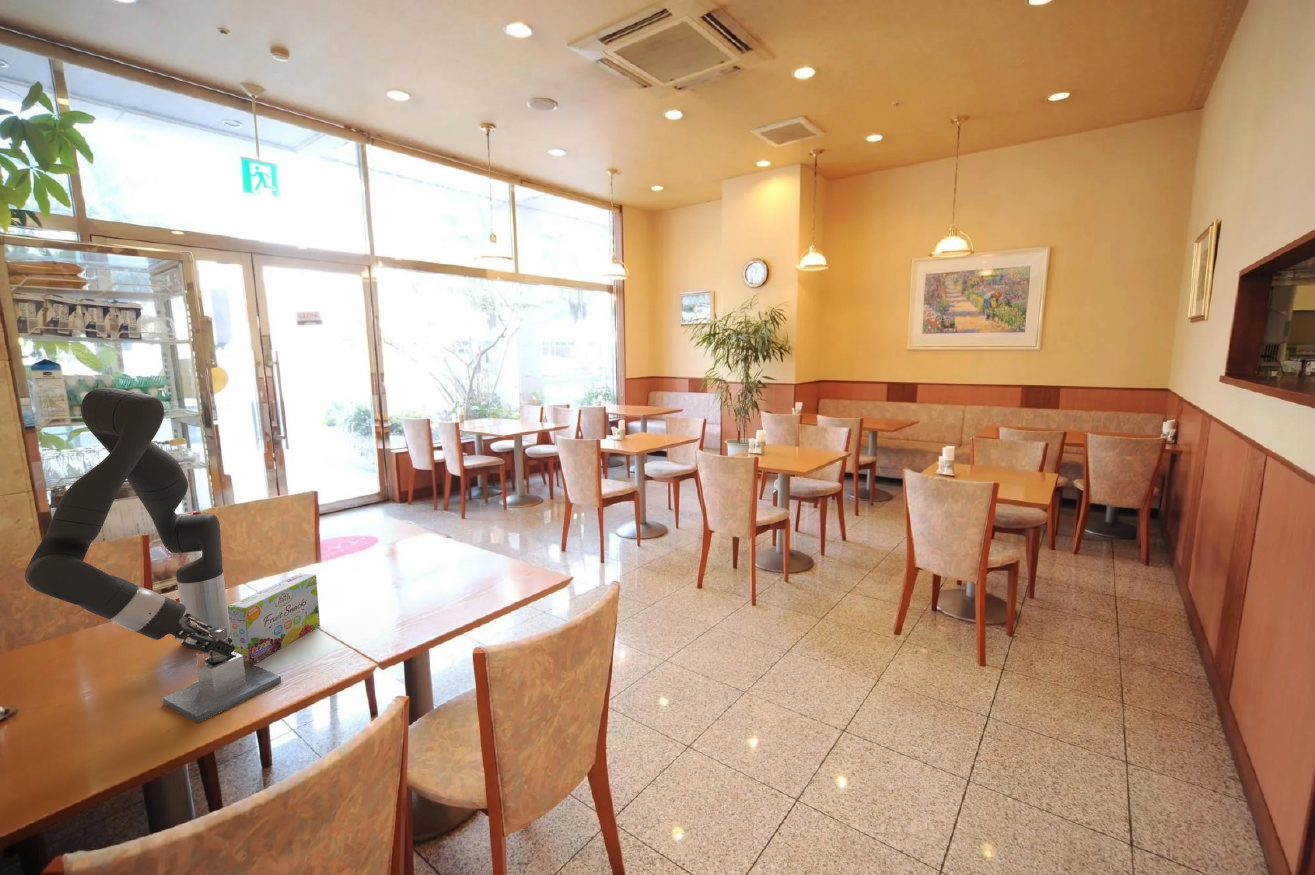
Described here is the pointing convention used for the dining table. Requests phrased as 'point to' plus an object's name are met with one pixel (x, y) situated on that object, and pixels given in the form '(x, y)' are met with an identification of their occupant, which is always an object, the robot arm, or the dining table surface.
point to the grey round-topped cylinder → (214, 656)
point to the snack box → (274, 617)
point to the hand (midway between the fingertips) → (230, 647)
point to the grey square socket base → (220, 687)
